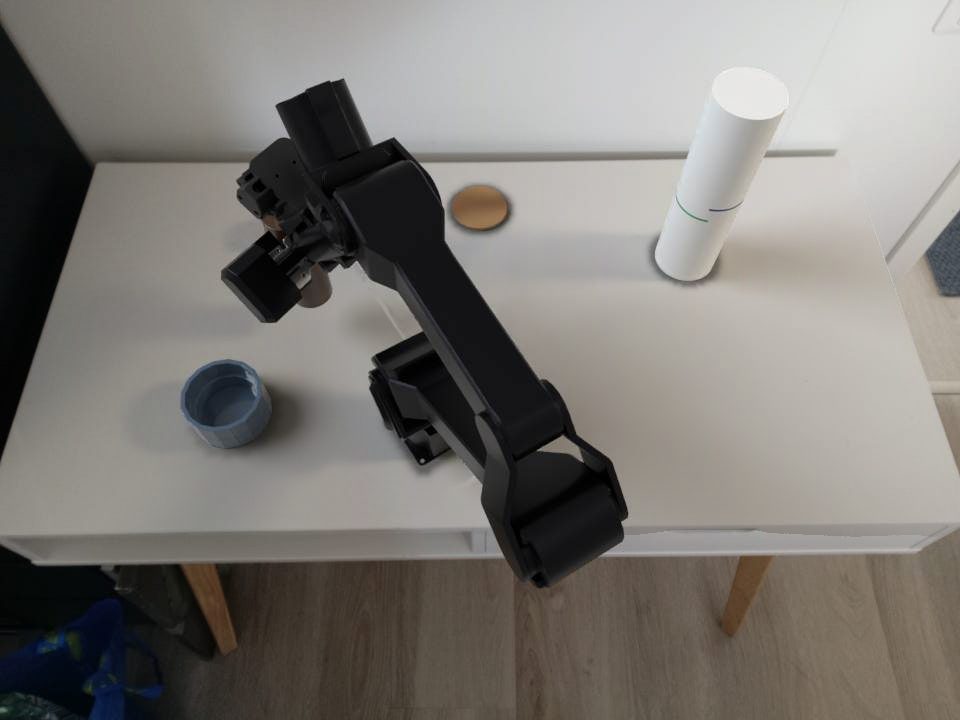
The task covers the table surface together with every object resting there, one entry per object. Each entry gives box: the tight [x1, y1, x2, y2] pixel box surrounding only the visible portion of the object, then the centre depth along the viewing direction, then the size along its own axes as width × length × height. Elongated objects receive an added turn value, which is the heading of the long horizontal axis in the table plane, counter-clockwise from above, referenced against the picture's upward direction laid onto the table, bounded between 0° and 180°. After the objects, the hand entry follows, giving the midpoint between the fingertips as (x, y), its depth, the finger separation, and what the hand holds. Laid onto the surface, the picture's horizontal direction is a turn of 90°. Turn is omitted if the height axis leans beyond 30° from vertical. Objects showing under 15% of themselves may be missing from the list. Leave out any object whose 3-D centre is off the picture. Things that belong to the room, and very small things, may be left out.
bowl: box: [179, 358, 273, 449], centre depth 77 cm, size 8×8×5 cm
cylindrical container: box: [654, 66, 791, 282], centre depth 79 cm, size 7×7×25 cm
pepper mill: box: [260, 215, 333, 309], centre depth 74 cm, size 4×4×14 cm
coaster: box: [451, 185, 508, 232], centre depth 94 cm, size 7×7×1 cm
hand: (288, 244), depth 74 cm, fingers closed on pepper mill, 4 cm apart
